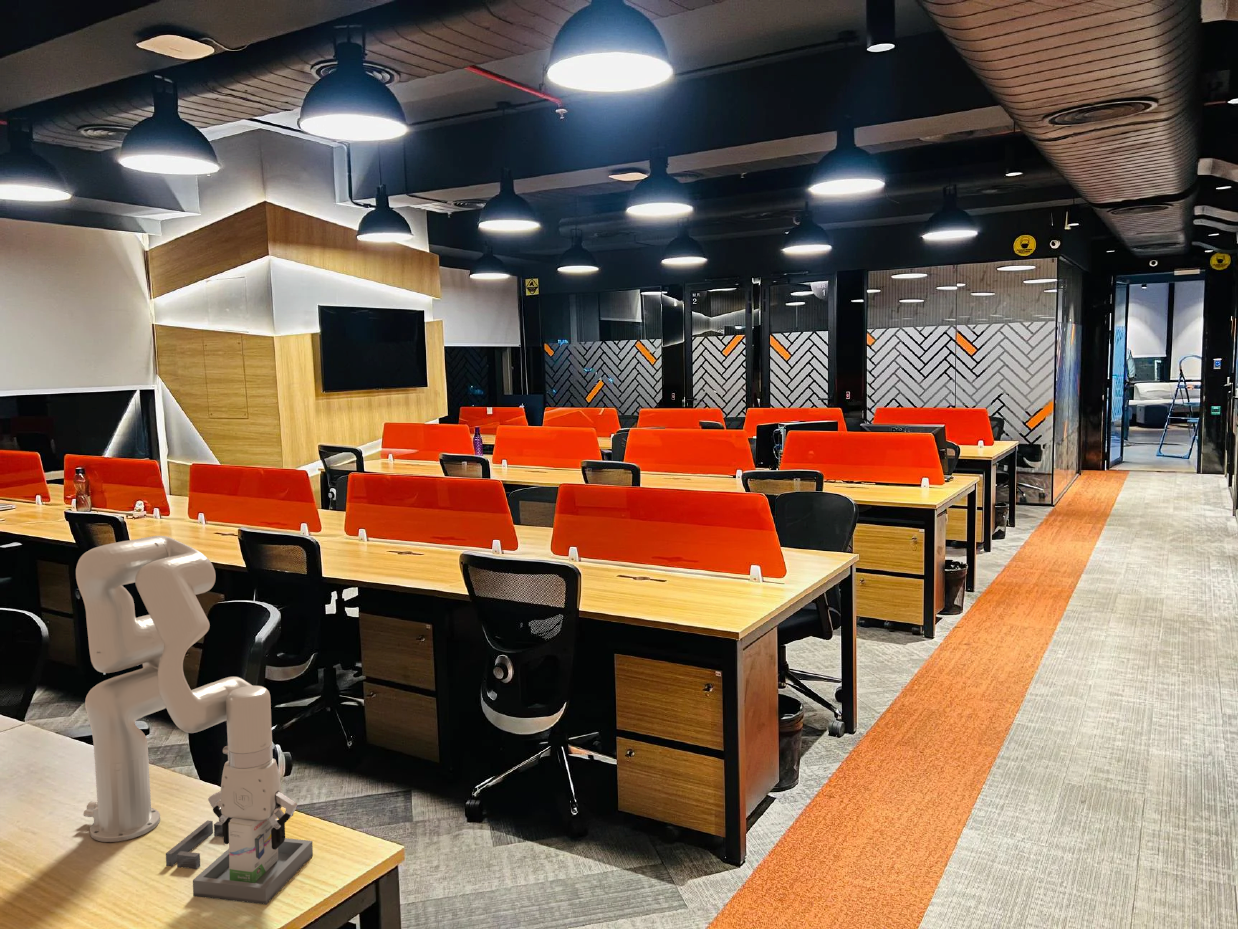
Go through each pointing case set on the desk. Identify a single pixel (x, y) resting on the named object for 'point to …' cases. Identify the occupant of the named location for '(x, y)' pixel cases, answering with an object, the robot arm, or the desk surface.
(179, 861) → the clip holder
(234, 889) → the tray
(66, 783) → the desk surface
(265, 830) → the ink box
